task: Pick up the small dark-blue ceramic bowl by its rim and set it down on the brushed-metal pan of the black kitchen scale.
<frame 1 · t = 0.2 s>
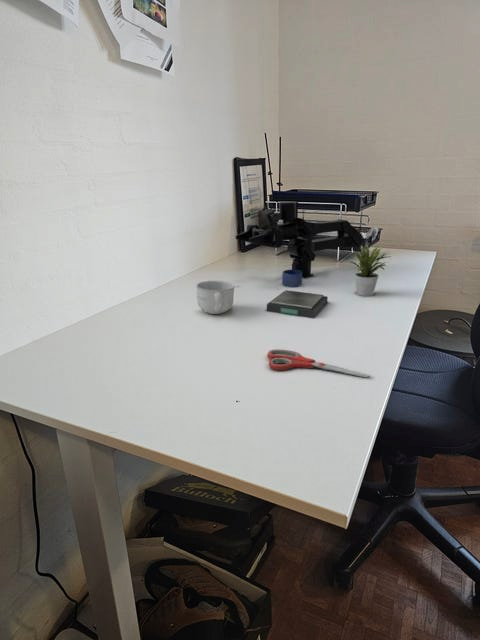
hand: (242, 238, 134), 16 cm above the table, tool horizontal, fingers open, 9 cm apart
scale pan: (297, 299, 118), point 2 cm above the table, slide at -0.6 cm
scissors: (315, 366, 84), on the table
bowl: (291, 284, 140), on the table
scale: (297, 306, 119), on the table
teacup: (215, 313, 115), on the table
house plant: (365, 295, 128), on the table
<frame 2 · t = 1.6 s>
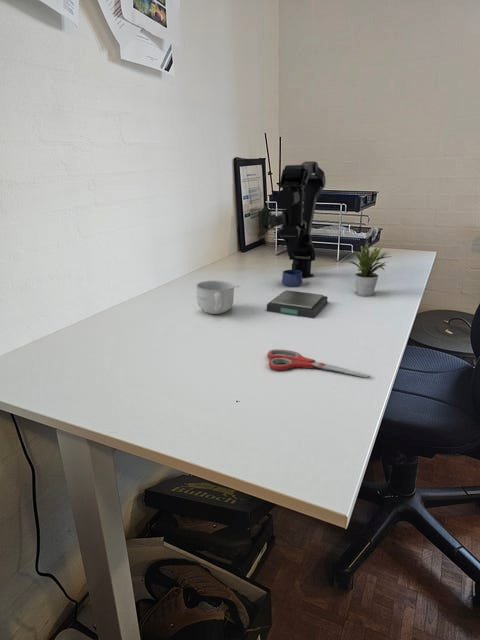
hand: (292, 253, 136), 11 cm above the table, tool pointing down, fingers open, 9 cm apart
nothing on the table moved.
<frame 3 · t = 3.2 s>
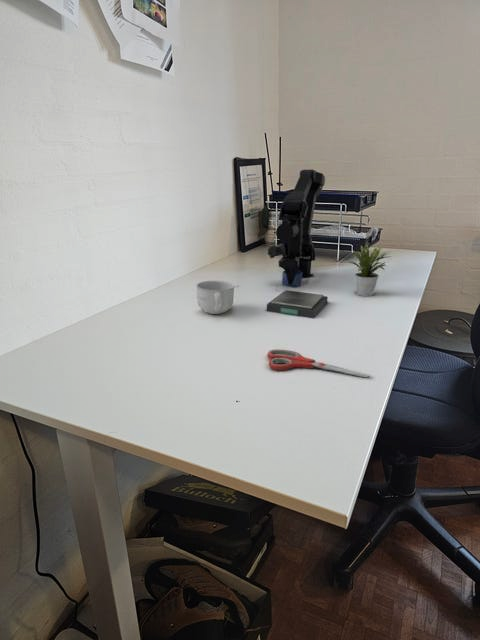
hand: (292, 281, 140), 1 cm above the table, tool pointing down, fingers closed on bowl, 7 cm apart
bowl: (291, 284, 140), on the table, touching gripper
everything else where it was.
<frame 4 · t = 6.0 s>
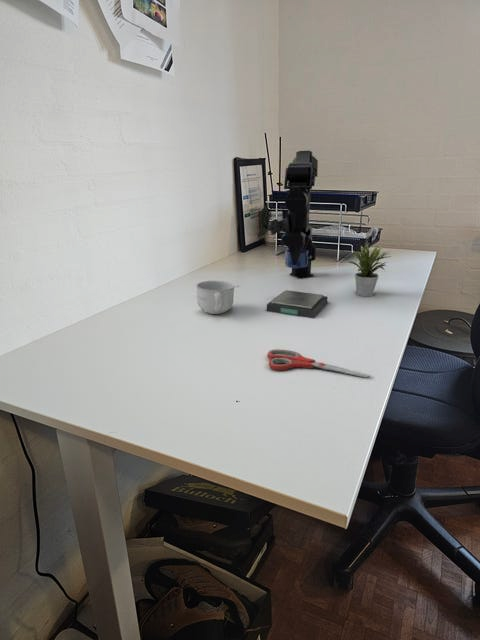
hand: (296, 262, 122), 11 cm above the table, tool pointing down, fingers closed on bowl, 7 cm apart
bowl: (296, 265, 122), point 10 cm above the table, touching gripper
everything else where it was.
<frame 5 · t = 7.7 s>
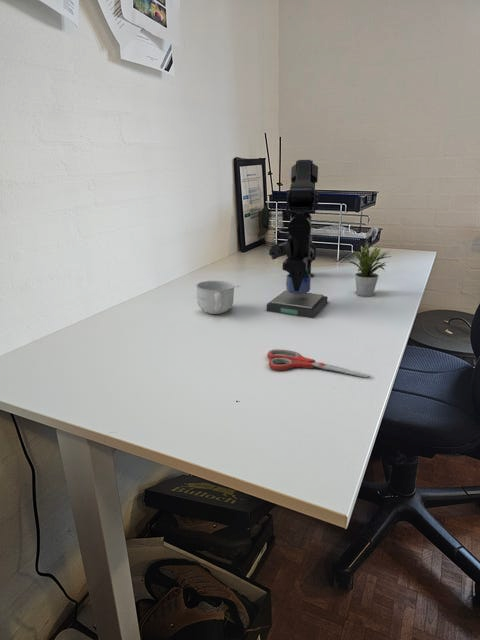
hand: (298, 287, 116), 6 cm above the table, tool pointing down, fingers closed on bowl, 7 cm apart
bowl: (298, 290, 117), point 5 cm above the table, touching gripper
everything else where it was.
when the fingers open (4 cm above the table, at t = 9.0 s): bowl moves 4 cm and tips over, resting on scale pan.
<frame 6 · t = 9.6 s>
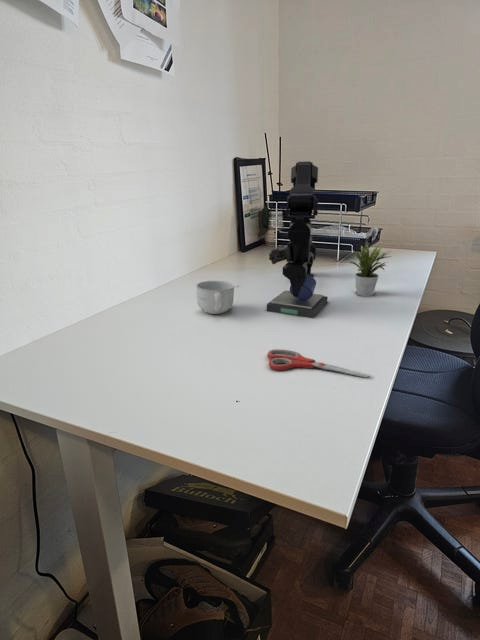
hand: (298, 292, 117), 5 cm above the table, tool pointing down, fingers open, 9 cm apart
scale pan: (297, 299, 118), point 2 cm above the table, slide at -0.7 cm, touching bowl
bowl: (300, 293, 114), point 5 cm above the table, tilted 53°, touching gripper, scale pan
everything else where it was.
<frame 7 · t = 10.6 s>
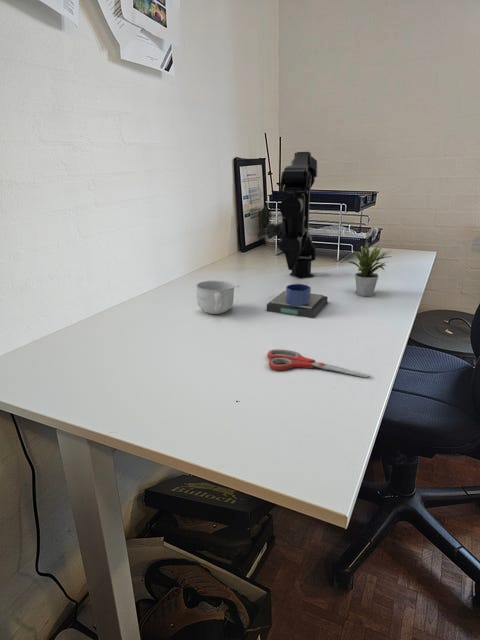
hand: (293, 265, 122), 10 cm above the table, tool pointing down, fingers open, 9 cm apart
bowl: (297, 302, 114), point 3 cm above the table, touching scale pan
everything else where it was.
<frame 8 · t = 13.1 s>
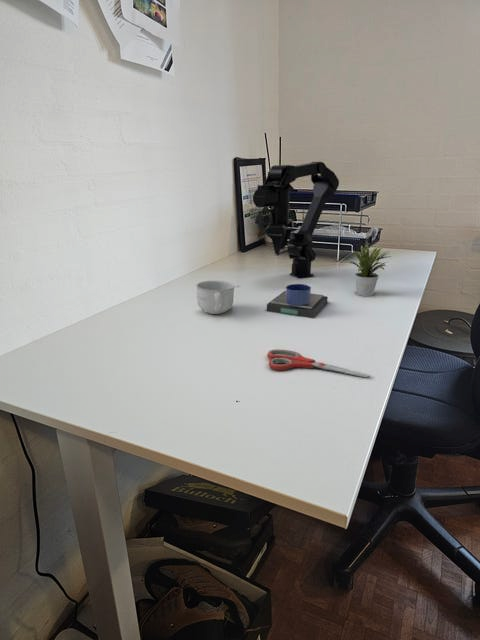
hand: (279, 251, 139), 11 cm above the table, tool pointing down, fingers open, 9 cm apart
nothing on the table moved.
at the end: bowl inside the target area on the scale (4.0 cm from its centre), point 2.6 cm above the scale's base; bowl touching scale pan; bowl tilted 0° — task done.
